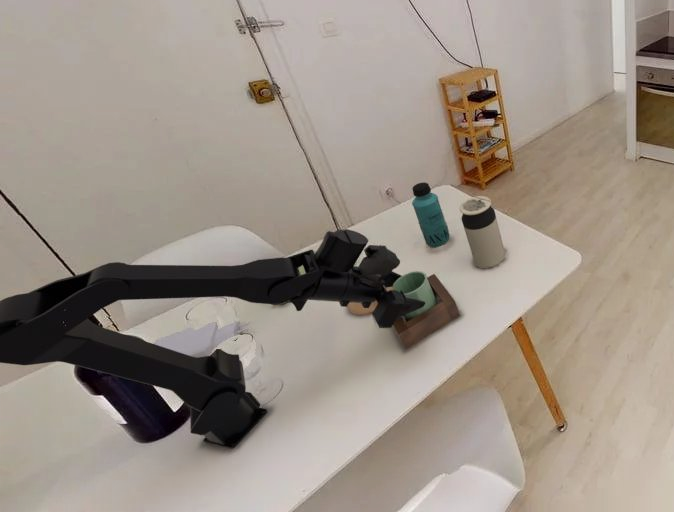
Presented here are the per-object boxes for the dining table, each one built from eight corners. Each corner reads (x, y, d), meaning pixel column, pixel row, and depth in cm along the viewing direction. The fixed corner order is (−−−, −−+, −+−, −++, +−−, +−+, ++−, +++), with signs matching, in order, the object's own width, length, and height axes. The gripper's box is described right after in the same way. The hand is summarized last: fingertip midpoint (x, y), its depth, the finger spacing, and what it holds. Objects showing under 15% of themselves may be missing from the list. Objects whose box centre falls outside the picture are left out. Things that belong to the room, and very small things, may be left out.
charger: (251, 348, 88) (155, 386, 81) (257, 318, 95) (169, 351, 88) (240, 333, 86) (140, 372, 79) (247, 304, 93) (156, 337, 86)
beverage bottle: (422, 249, 114) (399, 191, 104) (438, 234, 119) (419, 177, 109) (441, 254, 112) (420, 194, 102) (457, 238, 117) (439, 180, 108)
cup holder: (405, 350, 87) (398, 334, 84) (387, 317, 94) (380, 302, 92) (460, 315, 94) (455, 301, 92) (439, 287, 101) (434, 273, 99)
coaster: (376, 317, 94) (375, 316, 94) (338, 312, 96) (338, 310, 96) (404, 284, 103) (404, 283, 102) (370, 280, 104) (369, 278, 104)
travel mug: (488, 273, 105) (472, 218, 97) (468, 261, 109) (451, 208, 100) (511, 254, 111) (498, 200, 102) (491, 244, 115) (477, 191, 106)
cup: (428, 331, 91) (413, 296, 85) (401, 327, 92) (384, 293, 86) (445, 306, 96) (433, 272, 91) (420, 302, 98) (406, 269, 92)
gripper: (376, 273, 73) (452, 282, 85) (349, 227, 85) (420, 241, 97) (343, 329, 73) (425, 330, 85) (321, 275, 84) (395, 282, 96)
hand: (416, 292), depth 91 cm, fingers open, 9 cm apart
